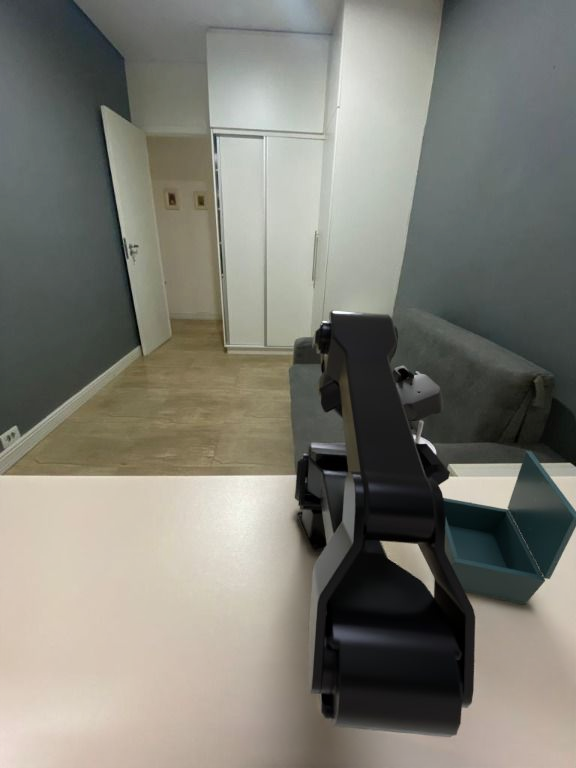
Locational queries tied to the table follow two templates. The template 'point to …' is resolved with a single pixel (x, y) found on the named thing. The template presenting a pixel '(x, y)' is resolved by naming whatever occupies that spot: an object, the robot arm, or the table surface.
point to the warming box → (489, 552)
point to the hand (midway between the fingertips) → (417, 463)
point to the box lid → (541, 514)
